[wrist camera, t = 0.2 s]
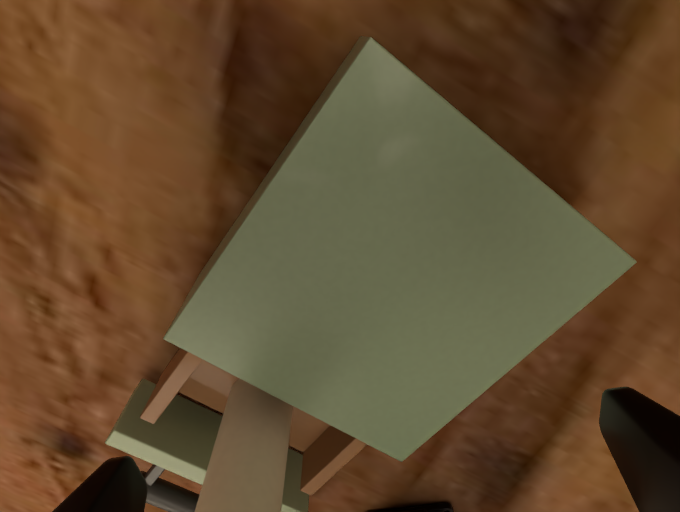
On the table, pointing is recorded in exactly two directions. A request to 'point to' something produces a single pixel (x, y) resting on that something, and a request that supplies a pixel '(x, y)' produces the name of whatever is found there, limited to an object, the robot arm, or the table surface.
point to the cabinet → (391, 263)
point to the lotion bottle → (248, 454)
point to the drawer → (214, 436)
